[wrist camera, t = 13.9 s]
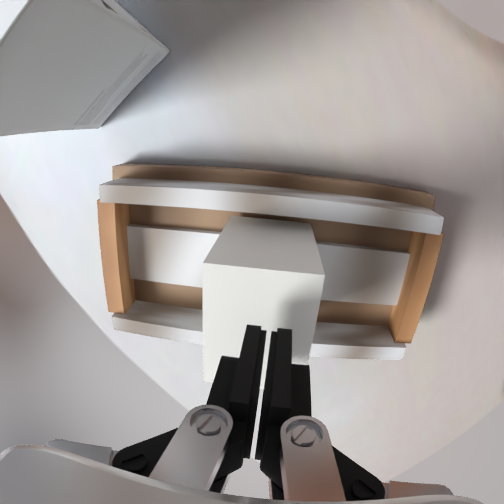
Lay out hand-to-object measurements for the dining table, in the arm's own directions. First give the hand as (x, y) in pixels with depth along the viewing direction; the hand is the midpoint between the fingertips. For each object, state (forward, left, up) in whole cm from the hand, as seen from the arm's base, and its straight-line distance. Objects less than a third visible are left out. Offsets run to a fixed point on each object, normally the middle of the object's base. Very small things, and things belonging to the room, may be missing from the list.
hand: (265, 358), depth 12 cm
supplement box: (+12, -13, -11) cm, 21 cm away
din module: (0, 0, -8) cm, 8 cm away
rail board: (0, 0, -10) cm, 10 cm away
